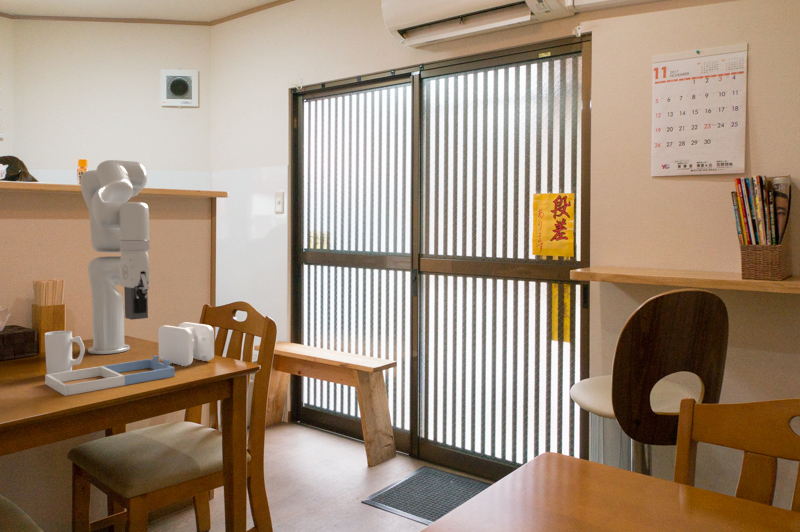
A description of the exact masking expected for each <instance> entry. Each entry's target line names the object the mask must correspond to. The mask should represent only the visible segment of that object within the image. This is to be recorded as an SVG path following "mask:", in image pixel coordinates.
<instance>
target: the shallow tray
mask: <svg viewBox="0 0 800 532" xmlns="http://www.w3.org/2000/svg"><path fill="white" fill-rule="evenodd" d="M144 369H151V370H149V371H148V370H147V371H142V372H136V373H129V374H125V375H123V374H122V373H126V372H130V371H138V370H144ZM175 369H176V368H175V367H174V366H171V365H170V364H169V360H168V359H163V361H162V362H161V361H160V358H159V355H156V354H155V355H154V354H153V355H152V358H147V359H146V358H145V359H138V360H135V361H133V360H132V361H128V362H119V363H114V364H108V365H107V364H106V365H99V366H93V367H87V368H80V369H75V370H73V369H72V371H67V372H60V373H53V374H47V373H46V374H45V375H44V381H45V382H44V383H45V385H46V386H48V387H50V388H51V389H52V390H55V391H56V392H58V393H59V394H61V395H62V396H65V397H66V396H72V395H77V394H78V395H79V394H83V393H89V392H94V391H100V390H105V389H110V388H111V389H112V388H116V387H123V386H128V385H133V384H139V383H144V382H151V381H155V380H156V381H157V380H162V379H167V378H172V377H173V376H174V377H175V376H176V370H175ZM96 377H103V378H99V379H93V380H88V381H82V382H75V383H69V384H67V383H65V382H70V381H77V380H83V379H84V380H85V379H89V378H96Z"/></svg>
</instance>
